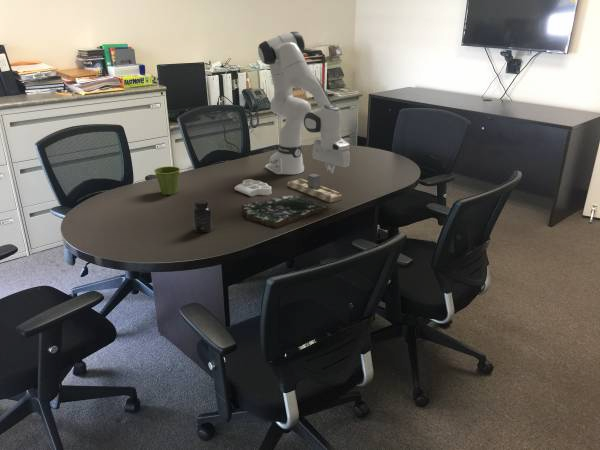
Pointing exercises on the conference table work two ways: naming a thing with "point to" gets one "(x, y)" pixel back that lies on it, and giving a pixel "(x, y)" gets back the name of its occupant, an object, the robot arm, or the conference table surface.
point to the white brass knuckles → (253, 188)
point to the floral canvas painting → (281, 210)
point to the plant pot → (168, 179)
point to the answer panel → (315, 191)
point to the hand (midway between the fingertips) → (330, 172)
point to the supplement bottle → (202, 217)
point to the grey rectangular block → (314, 181)
